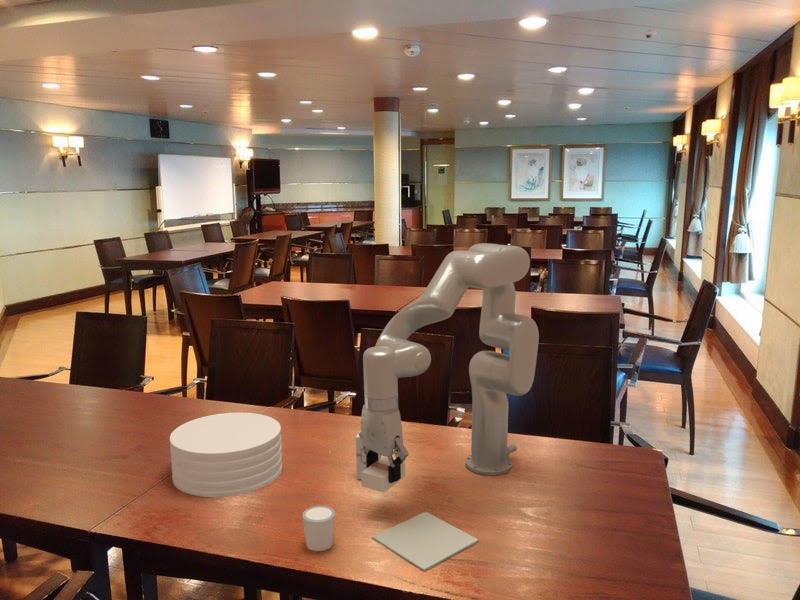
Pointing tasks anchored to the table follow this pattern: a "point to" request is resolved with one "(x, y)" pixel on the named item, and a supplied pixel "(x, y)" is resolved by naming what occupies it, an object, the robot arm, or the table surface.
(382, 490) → the card box
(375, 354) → the robot arm
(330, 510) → the shot glass
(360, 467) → the ink cartridge box
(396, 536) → the mat
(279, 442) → the plate stack
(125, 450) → the table surface
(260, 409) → the table surface
